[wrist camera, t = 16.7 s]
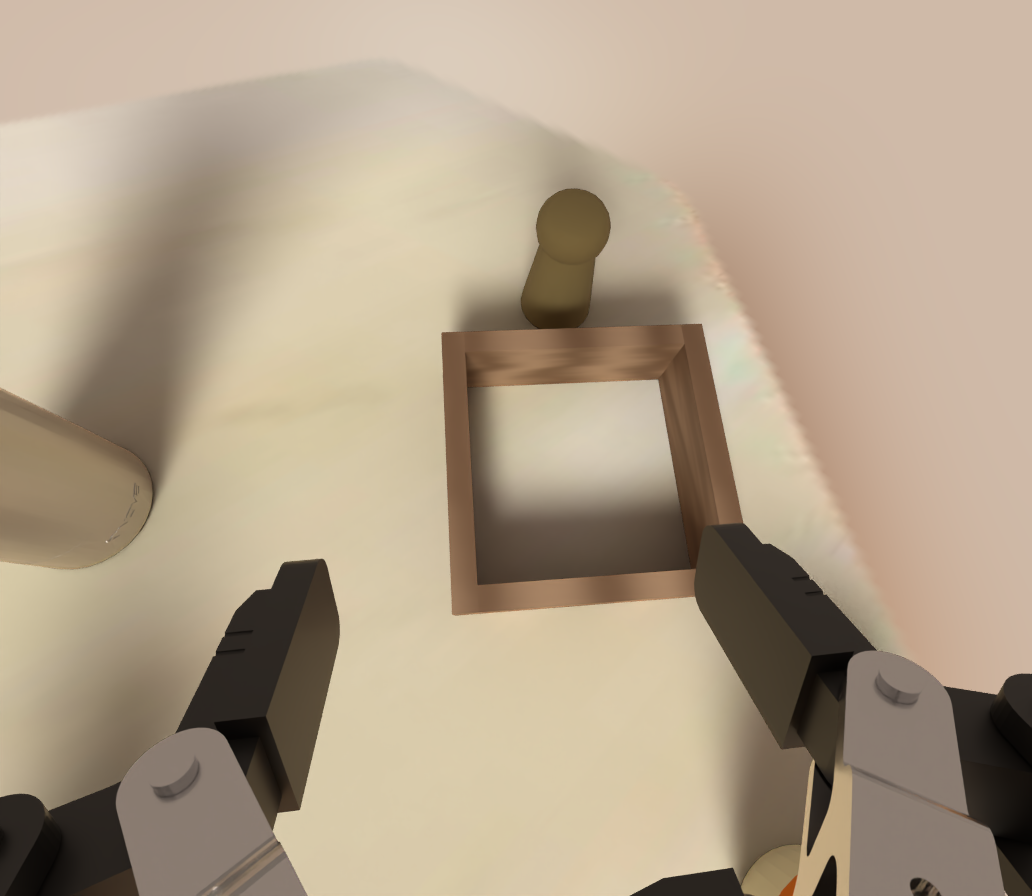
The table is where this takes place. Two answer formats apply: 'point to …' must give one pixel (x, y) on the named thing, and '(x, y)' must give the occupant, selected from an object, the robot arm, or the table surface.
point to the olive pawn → (565, 259)
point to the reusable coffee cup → (774, 873)
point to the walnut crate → (575, 360)
